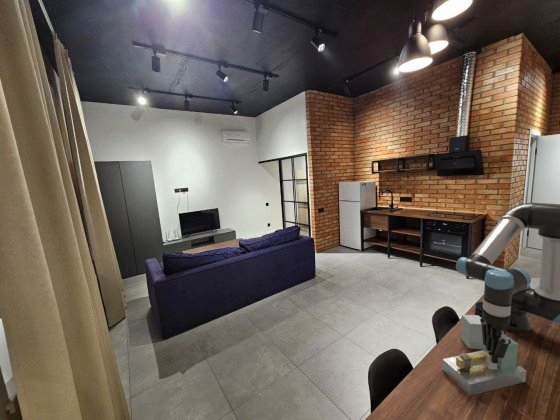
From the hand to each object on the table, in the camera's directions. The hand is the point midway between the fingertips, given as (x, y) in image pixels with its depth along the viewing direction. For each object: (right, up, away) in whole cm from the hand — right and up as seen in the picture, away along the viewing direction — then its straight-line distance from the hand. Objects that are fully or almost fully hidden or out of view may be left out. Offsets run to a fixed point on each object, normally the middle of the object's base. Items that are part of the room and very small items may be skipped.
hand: (491, 367), depth 91 cm
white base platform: (0, -6, +4) cm, 7 cm away
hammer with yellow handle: (-5, -1, +2) cm, 6 cm away
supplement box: (+10, -3, +21) cm, 23 cm away
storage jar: (+20, -1, +25) cm, 32 cm away
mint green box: (+7, 0, +4) cm, 8 cm away
